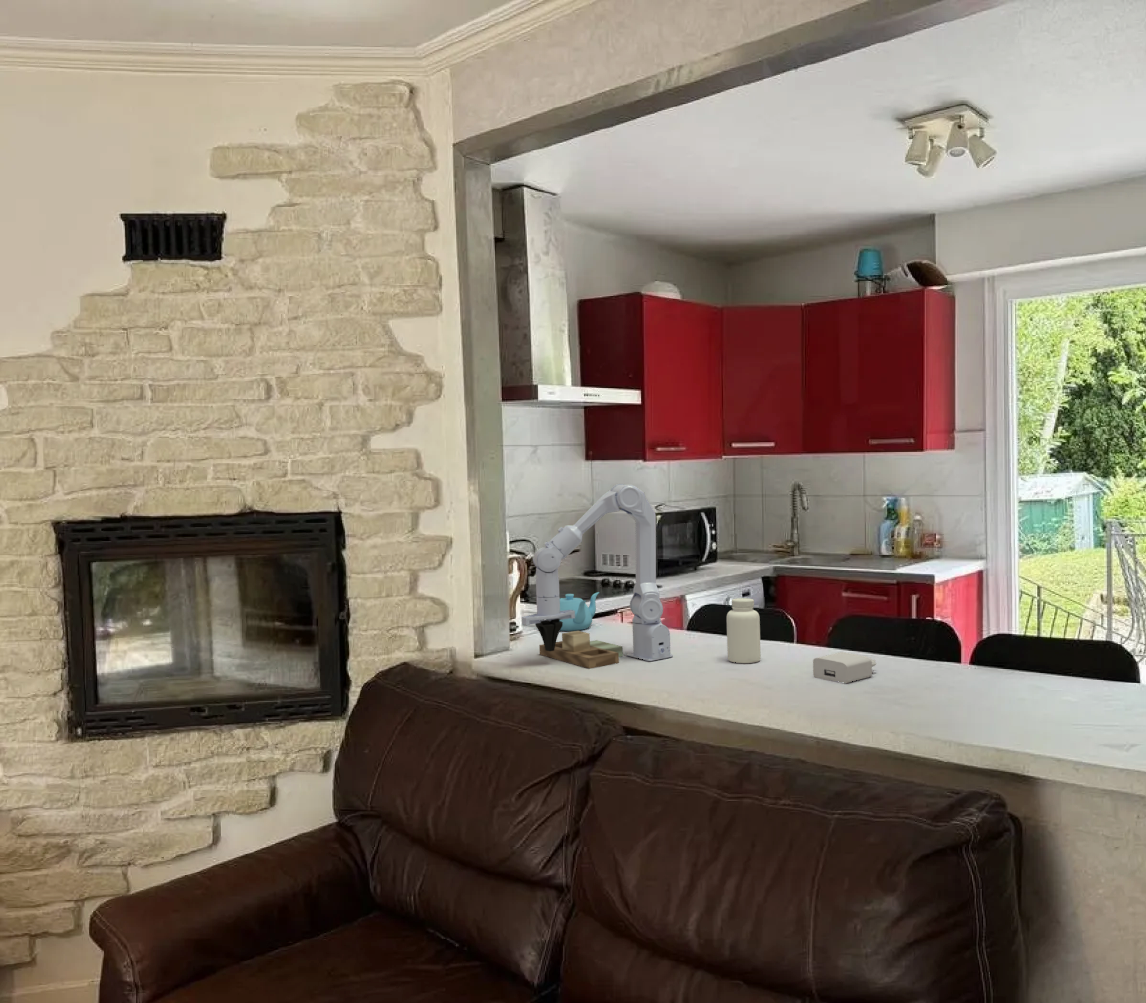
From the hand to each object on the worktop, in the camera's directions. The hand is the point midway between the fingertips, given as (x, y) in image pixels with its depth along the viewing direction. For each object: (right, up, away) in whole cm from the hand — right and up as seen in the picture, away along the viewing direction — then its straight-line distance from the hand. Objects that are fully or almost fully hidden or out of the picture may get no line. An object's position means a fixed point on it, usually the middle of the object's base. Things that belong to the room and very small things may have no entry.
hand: (549, 650), depth 235 cm
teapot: (+5, -1, +47) cm, 47 cm away
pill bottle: (+48, -2, -3) cm, 48 cm away
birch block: (+7, 0, +5) cm, 8 cm away
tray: (+9, -3, +7) cm, 12 cm away
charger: (+68, -3, -21) cm, 72 cm away
